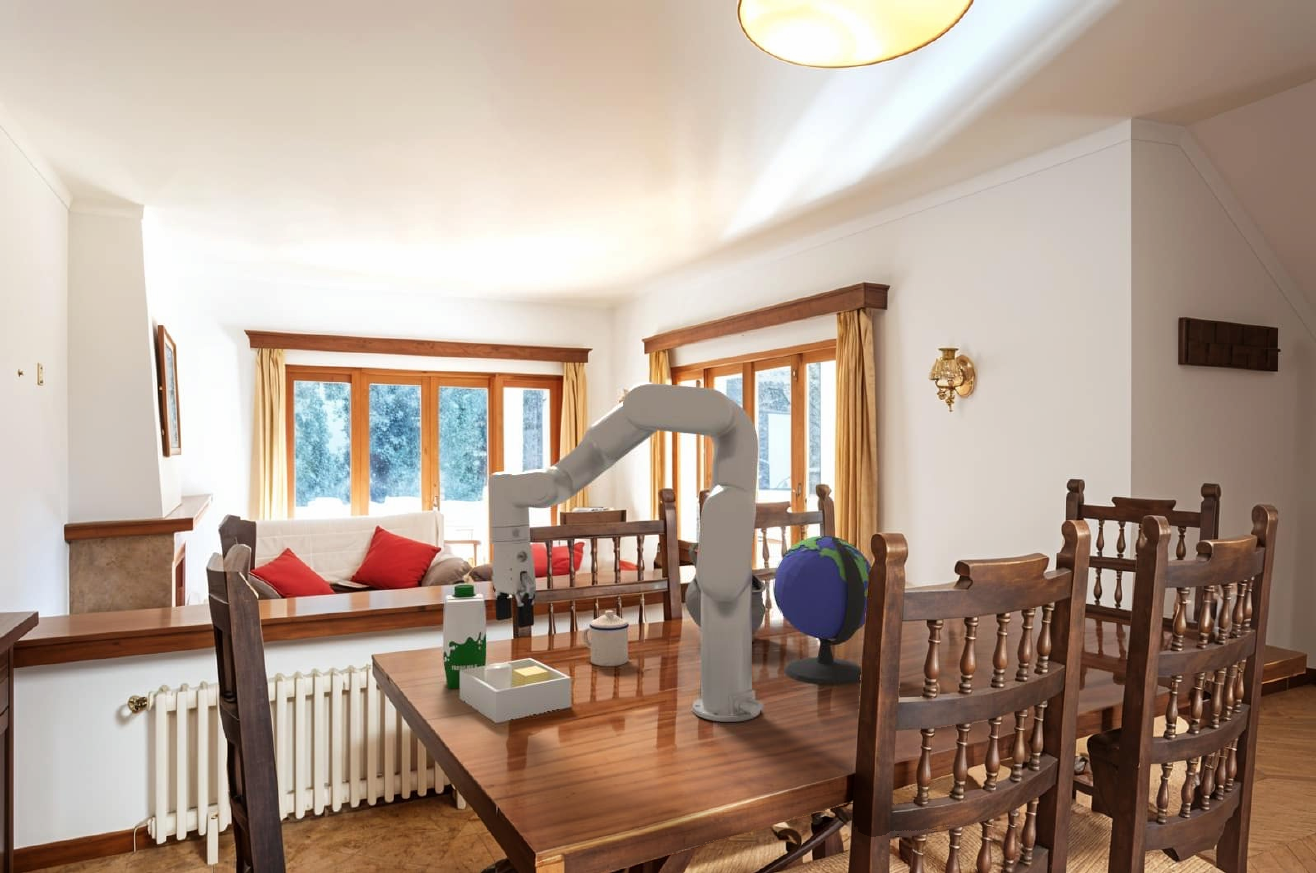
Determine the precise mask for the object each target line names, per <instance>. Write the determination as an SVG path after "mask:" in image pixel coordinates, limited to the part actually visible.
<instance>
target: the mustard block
mask: <svg viewBox="0 0 1316 873" xmlns="http://www.w3.org/2000/svg"><path fill="white" fill-rule="evenodd" d="M544 681H548V671H546V670H544V669H542V668H540V667H537V666H533V667H528V668H522V669H517V670H513V687H517V686H523V685H528V684H533V683H538V682H544Z"/></svg>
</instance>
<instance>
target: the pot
mask: <svg viewBox="0 0 1316 873" xmlns="http://www.w3.org/2000/svg"><path fill="white" fill-rule="evenodd" d="M698 543H699V541H697V542H695V543H693V544H692V545H689V547H688V548H689V549H688V556H689V557H690V560H691V562H692V564H693V566H694V568H695V569H696V565H697V556H696V555H695V549H696V548H698ZM766 588H767V586H766V584H765V582H764V581H763V580H762V579H761V578H760V577H759V576H758V575H756V573H754V572H752V642H753V641H754V638H755V634H756V632H757V631H758V630H759V629H760V627H761V625H763V624H762V623H763V622H764V617H765V615H766V613H767V608H766V605H765V603H764V597H763V592H765V590H766ZM684 596H685V606H686V609H687V611H688V614H689V615H690V617H691V618H692V620H693V622H694V623H695V624H696V625H697V626H698V627H699V628H701V589H700V587H699V585H698V583H697V579H696V574H694V576H693V579H692V580H691V581H690V582H689V583H688V586H687V588H686V591H685V595H684Z"/></svg>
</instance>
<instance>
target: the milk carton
mask: <svg viewBox="0 0 1316 873" xmlns="http://www.w3.org/2000/svg"><path fill="white" fill-rule="evenodd" d="M485 601H486V600H485V598H484V596H483V594H482V593H475V586H474V585H473V584H459V585H458V584H457V585H455V586H454V594H448V595H445V599H444V605H443V609H444V610H443V613H442V614H443V615H442V618H443V624H442V625H443V626H442V628H443V630H442V633H443V634H442V638H443V639H442V641H443V643H442V650H443V651H442V653H443V654H442V657H443V658H442V659H443V660H442V661H443V667H444V673H445V678H446V683H447V689H448V690H453V689H460V670H463V669H469V668H475V667H480V666H486V665H487V664H486V663H487V616H486V615H487V608H486V607H487V606H486V602H485Z"/></svg>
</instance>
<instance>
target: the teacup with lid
mask: <svg viewBox="0 0 1316 873" xmlns="http://www.w3.org/2000/svg"><path fill="white" fill-rule="evenodd" d="M629 624H630V623H629V622H628V620H626V619H624V618H621V617H620V616H619V615H616V614H614V611H613V610H611V609H610V610H605V612H604V614H603V615H601V616H599V617H598V618H595V619H593V620H591V621H590V623H589V625H588V627H586V628H584V630H583V631H582V640H583V642H584V644H585V646H586V647H587V648H588V649H590V662H591V664H593V665H595V666H600V667H615V666H616V667H617V666H621V665H622V666H623V665H624V664H626V663H627V662H628V660H629V630H628V629H629V628H628V627H629V626H630V625H629ZM589 631H590V634H589V635H590V637H589V638H590V641H589V638H588V632H589Z"/></svg>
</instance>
